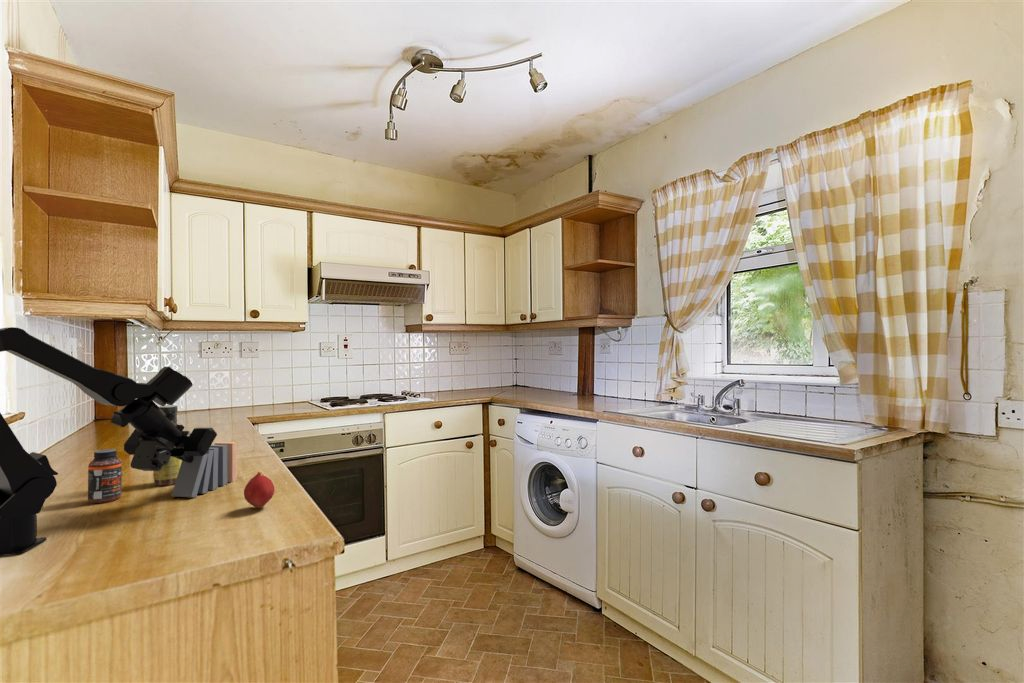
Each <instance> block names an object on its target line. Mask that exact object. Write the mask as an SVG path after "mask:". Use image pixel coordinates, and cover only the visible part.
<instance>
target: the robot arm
mask: <svg viewBox="0 0 1024 683" xmlns="http://www.w3.org/2000/svg"><path fill="white" fill-rule="evenodd" d="M2 352H7V353H10V354H11V355H14V356H15V357H18V358H20V359H22V360H24V361H26V362H28V363H30V364H32V365H34V366H37V367H39V368H41V369H43V370H46V371H47V372H49V373H51V374H53V375H56V376H58V377H60V378H62V379H64V380H66V381H68V382H71V383H72V384H74V385H75V386H76V387H78V388H79V389H80V390H81V391H82V392H83V393H84V394H86V395H87V396H88V397H89V398H91V399H93V400H94V401H96V402H97V403H98V404H101V405H104V406H114V407H122V408H121V409H120V410H118V411H117V410H116V411H115V410H114V411H113V412H112V414H113V416H112V417H111V420H110V423H111V424H112V425H114V426H118V427H121V428H126V426H127V425H128V424H130V426H132V427H133V429H134V430H133V432H131V434H130V436H129V437H128V438H127V440H126V441H125V442H124V444H123V450H124V452H125V453H127V455H130V456H131V455H132V458H131V461H130V467H131V469H135V470H139V471H143V472H153V471H159V470H161V469H162V467H163V466H166V465H167V464H168V462H169V459H170V456H172V457H175V458H177V459H180V460H182V461H185V462H187V463H192V461H193V460H194V457H193V456H203V455H205V454H206V453H207V451H208V449H209V448H210V446H211V445H213V444H214V443H213V442H214V441H215V439H216V437H217V436H218V434H217V432H216V430H215V429H214V428H213V427H194V428H193V430H192V431H190V430H185V426H184V425H183V424H178V425H176V424H175V423H174V422H173V421H172V419H173V417H174V416H173V415H172V414H165V413H164V412H163V411H162V410H161V409H160V408H159V406H165V405H175V403H176V402H177V401H178V400H179V399H180V398H182V396H184V394H186V393H187V392H188V391H189V390H190V389H191V388H192V387H193V385H194V384H193V382H192V381H191V379H189V378H188V377H187V376H186V375H184V374H182V373H180V372H179V371H177V370H174V369H173V368H172V367H171V366H163V367H161V369H160V370H159V371H158V372H157V373H156V375H154V376H153V377H152V378H151V379H150V380H149V381H147V382H146V383H145V382H136V381H135V380H134V379H132V378H130V377H126V376H123V375H122V374H121V375H120V374H118V373H115V372H111V371H108V370H104V369H101V368H98V367H95V366H92V365H90V364H88V363H85V362H84V361H82V360H81V359H78V358H77V357H74V356H73V355H70V354H69V353H66V352H64V351H63V350H61V349H58V348H57V347H55V346H53V345H51V344H49V343H47V342H45V341H43V340H41V339H38V338H37V337H35V336H33V335H31V334H29V333H28V332H27V331H26V330H24V329H23V328H20V327H13V326H12V327H10V326H9V327H2V328H1V327H0V353H2ZM158 405H159V406H158ZM57 475H59V473H58V472H57V471H56V470H54V469H53V468H52V466H51V464H50V461H49V459H48V456H47V455H45V454H42V453H38V452H35V451H32V452H30V453H29V452H27V451H26V449H24V447H23V446H22V444H21V442H20V441H19V439H18V437H17V436H16V434H15V433H14V431H13V430H12V429H11V427H10V425H9V424H8V422H7V421H6V419H5V418H4V416H3V415H2V412H0V556H11V555H20V554H24V553H26V552H28V551H29V550H31V549H33V548H35V547H36V546H38V545H40V544H43V543H44V542H45V541H47V537H46V536H43V537H37V536H38V534H37V533H38V530H37V528H38V526H37V525H38V524H37V523H38V520H37V519H38V517H37V516H38V515H37V514H40V513H41V510H42V509H43V506H44V504H45V502H46V500H47V499H48V498H50V496H52V494H53V493H54V491H55V489H56V487H57V486H58V483H57V482H58V481H57V479H56V476H57Z"/></svg>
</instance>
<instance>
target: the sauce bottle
mask: <svg viewBox="0 0 1024 683" xmlns="http://www.w3.org/2000/svg"><path fill="white" fill-rule="evenodd" d="M158 407H159V408H160V409H161V410H162V411H163V412H164V413H165V414H172V415H173V416H174V417H173V419H172V421H173V422H174V423H175V424H176V425H179V423H178V419H177V418H178V417H177V416H178V415H177V414H178V411H179V410H178V405H177V404H173V405H168V404H166V405H165V406H161V405H159V406H158ZM181 462H182V460H180V459H177V458H175V457H172V456H170V459H169V462H168V464H167V465H166V466H163V467H162V469H161V470H159V471H152V473H153V474H152V476H153V477H152V478H153V483H154V485H156V486H172V485H175V482H176V479H177V476H178V472H179V469H180V466H181Z"/></svg>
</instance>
